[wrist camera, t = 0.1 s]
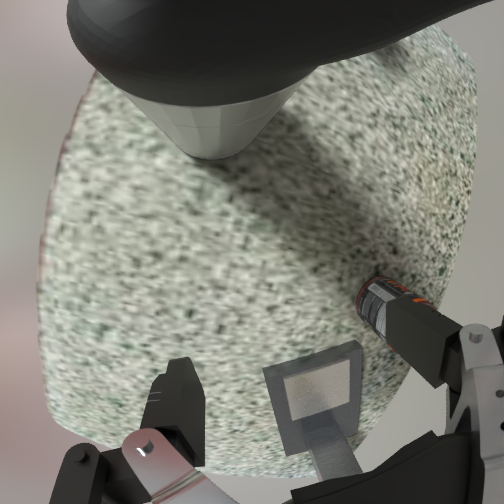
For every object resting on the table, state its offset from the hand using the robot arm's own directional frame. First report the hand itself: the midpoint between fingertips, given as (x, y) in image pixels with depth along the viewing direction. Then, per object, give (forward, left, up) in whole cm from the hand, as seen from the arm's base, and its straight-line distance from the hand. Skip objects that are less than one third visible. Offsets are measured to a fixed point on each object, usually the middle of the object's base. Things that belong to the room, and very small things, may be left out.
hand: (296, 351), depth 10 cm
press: (+24, +5, -17) cm, 30 cm away
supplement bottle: (+10, +14, -18) cm, 24 cm away
